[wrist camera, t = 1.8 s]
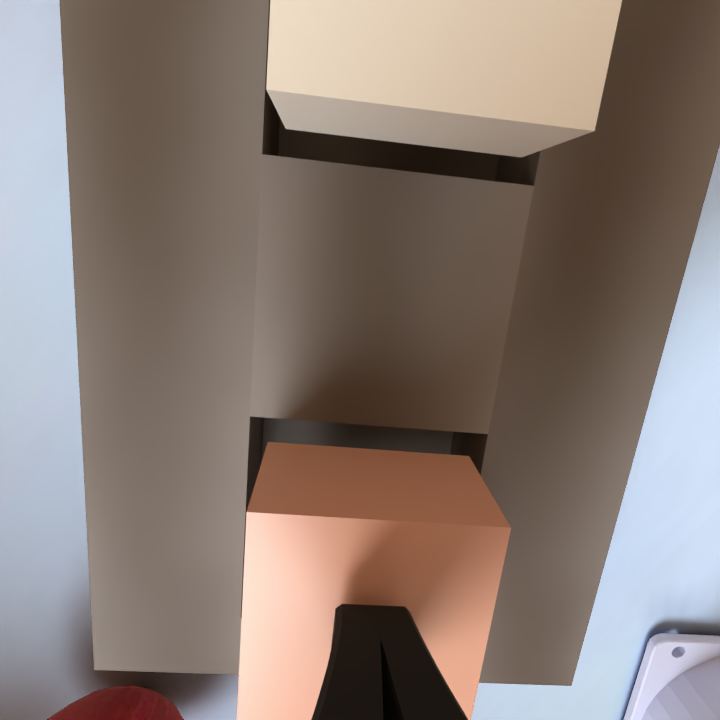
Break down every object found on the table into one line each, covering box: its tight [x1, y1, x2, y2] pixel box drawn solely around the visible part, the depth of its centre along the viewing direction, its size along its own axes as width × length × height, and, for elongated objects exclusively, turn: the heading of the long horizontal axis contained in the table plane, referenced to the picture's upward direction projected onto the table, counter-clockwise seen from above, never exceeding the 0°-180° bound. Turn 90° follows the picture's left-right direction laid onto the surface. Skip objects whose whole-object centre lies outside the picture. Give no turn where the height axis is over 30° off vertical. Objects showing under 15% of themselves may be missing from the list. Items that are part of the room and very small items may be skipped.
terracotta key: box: [237, 442, 511, 720], centre depth 11 cm, size 5×5×3 cm
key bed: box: [60, 0, 720, 686], centre depth 13 cm, size 14×22×4 cm, turn 174°
